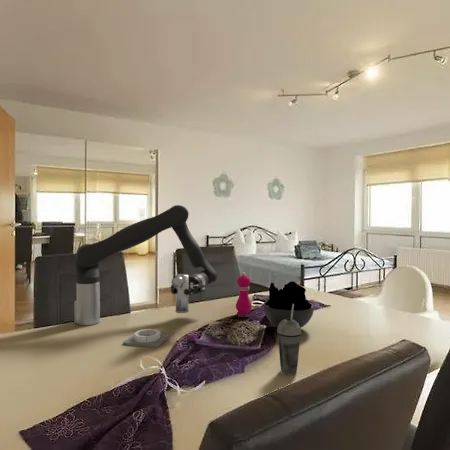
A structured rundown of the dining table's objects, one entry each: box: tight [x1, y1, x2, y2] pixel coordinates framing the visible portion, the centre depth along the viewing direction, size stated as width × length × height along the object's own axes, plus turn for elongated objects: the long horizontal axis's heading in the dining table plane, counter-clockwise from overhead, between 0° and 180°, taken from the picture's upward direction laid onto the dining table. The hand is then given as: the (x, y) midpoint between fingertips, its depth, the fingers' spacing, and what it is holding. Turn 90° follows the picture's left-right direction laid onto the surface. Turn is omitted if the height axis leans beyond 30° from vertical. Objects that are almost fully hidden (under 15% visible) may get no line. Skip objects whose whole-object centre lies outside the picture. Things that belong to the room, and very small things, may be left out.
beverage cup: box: [276, 304, 303, 376], centre depth 107 cm, size 7×7×20 cm
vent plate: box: [122, 328, 171, 349], centre depth 133 cm, size 13×12×3 cm
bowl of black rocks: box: [263, 280, 315, 328], centre depth 147 cm, size 20×20×19 cm
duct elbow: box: [171, 273, 190, 314], centre depth 138 cm, size 5×9×14 cm, turn 166°
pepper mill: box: [235, 271, 253, 316], centre depth 165 cm, size 7×7×20 cm
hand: (179, 292), depth 138 cm, fingers closed on duct elbow, 4 cm apart
